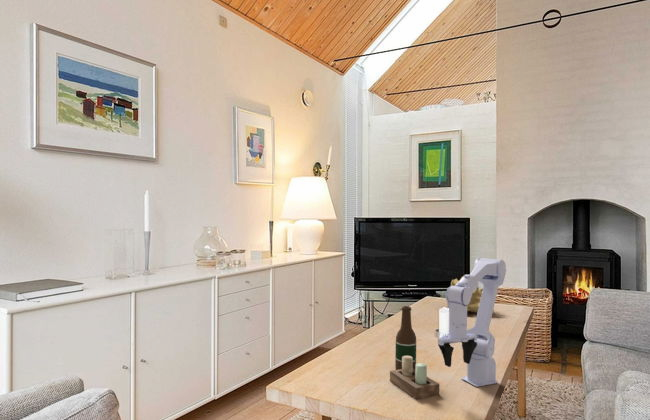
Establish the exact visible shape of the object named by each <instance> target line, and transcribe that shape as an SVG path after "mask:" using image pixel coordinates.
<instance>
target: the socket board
mask: <svg viewBox="0 0 650 420" xmlns="http://www.w3.org/2000/svg"><path fill="white" fill-rule="evenodd" d="M415 371H416V370H415V369H413V371H412V376H406V377H405V376H403V375H402V369H399V370H396V369H394V370H389V382H391V383H392V384H393V385H395V386H397V387H398V388H400V389H401V390H402V391H404V392H405V393H406V394H408V395H409V396H411V397H413V398H414V399H416V400H419V399H423V398H424V399H425V398H429V397H434V396H440V383H438V382H437V381H435V380H434V379H432V378H430V377H428V376H427V382H426V384H425V385H417V384H416V383H415Z"/></svg>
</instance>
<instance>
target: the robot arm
mask: <svg viewBox="0 0 650 420" xmlns="http://www.w3.org/2000/svg"><path fill="white" fill-rule="evenodd" d="M506 273H507V265H506V262H505V261H504V260H503V259H493V258H485V257H483V258H482V257H477V258H476V259H475V261H474V265H473V269H472V271H471V272H470V274H464V275H463V276H464V277H463V276H462V277H463V278H462V277H461V278H462V279H461V278H460V279H461V280H460V279H459V280H458V281H459V282H458V283H457V284H456V285H455V286H451V285H450V286H449V287H447V289H446V292H445V300H446V304H447V305H446V306H447V309H448V308H449V310H448V334H447V335H444V336H442V337H441V336H440V337H437V345H438V348H439V349H440V352H441V355H442V357H443V360H444V361H443V362H444V365H445V366H446V367H448V368H451V367H452V356H453V352H454V350H455V348H454V347H453V346H452V345H451V344H456V343H458V344H459V343H461V349H462V359H463V363H465V364H466V376H462V377H461V380H463V381H465V382H467V383H469V384H470V385H472V386H474V387H476V388H477V387H478V388H479V387H483V386H488V385H494V384H498V381H497V380H496V379H497V377H496V375H497V374H496V372H497V370H496V369H497V365H496V361H495V358H494V357H493V355H494V354H495V348H496V347H495V342H496V338H495V337H494V335H493V334H492V333H491V332H490V330H489V329H490V327H491V326H490V325H491V323H492V322H491V321H492V317H493V313H494V312H493V309H494V308H495V304H496V300H497V297H498V296H497V295H498V290H499V287H500V286H502V285H503V284H504V282H505V278H506ZM479 283H482V284H483V288H482V289H483V291H482V296H481V300H480V304H479V309H478V313H476V318H475V321H474V322H475V323H474V326H472V327H471V328H469V329H468V311H467V305H468V304H469V303H470V300H471V297H472V293H473V292H474V291H475V290H476V289H477V287H479Z"/></svg>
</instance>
